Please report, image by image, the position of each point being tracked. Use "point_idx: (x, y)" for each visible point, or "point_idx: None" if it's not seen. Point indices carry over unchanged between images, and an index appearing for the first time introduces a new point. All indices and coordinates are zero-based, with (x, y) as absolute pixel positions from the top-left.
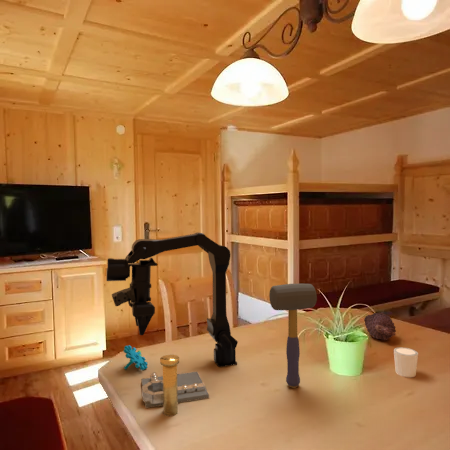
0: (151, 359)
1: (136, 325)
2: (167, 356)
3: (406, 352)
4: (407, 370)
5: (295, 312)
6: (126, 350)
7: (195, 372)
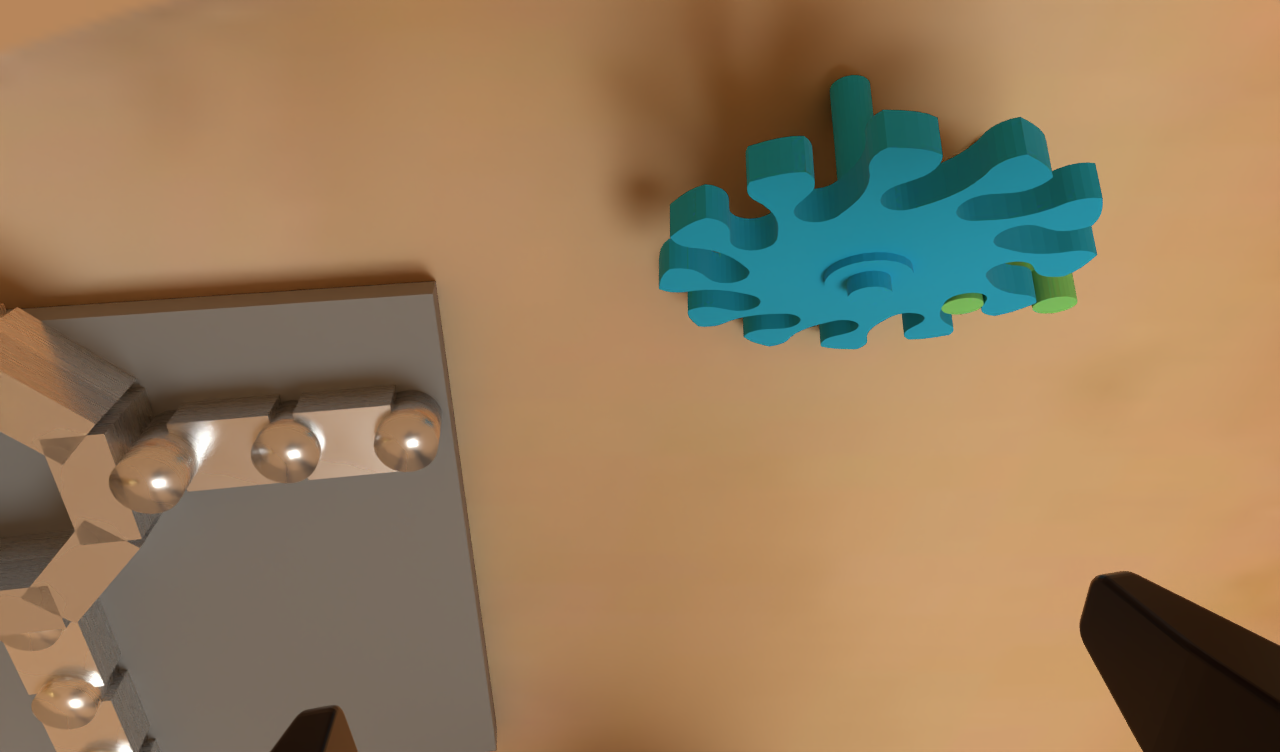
0: (980, 376)
1: (1104, 582)
2: None
3: None
4: None
5: None
6: (876, 164)
7: (478, 740)
